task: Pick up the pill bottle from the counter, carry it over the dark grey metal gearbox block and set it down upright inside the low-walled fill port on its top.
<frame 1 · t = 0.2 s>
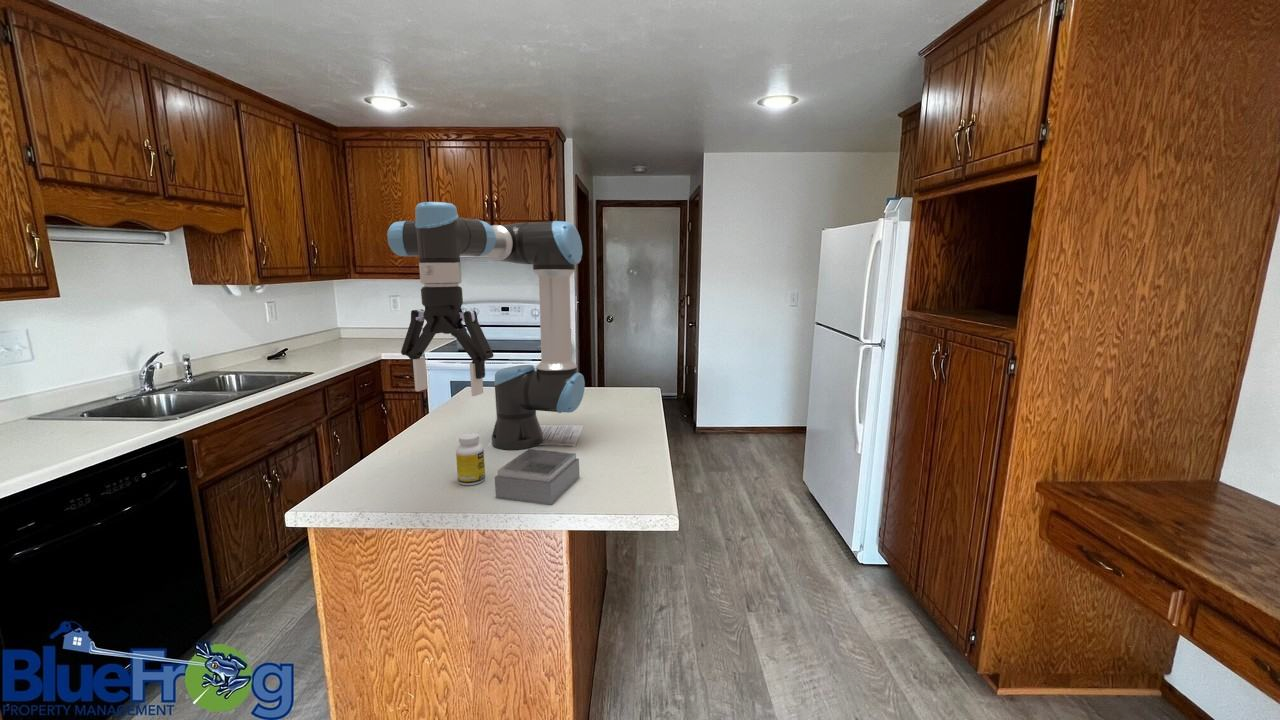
hand: (449, 392, 105), 27 cm above the worktop, fingers open, 13 cm apart
pill bottle: (471, 481, 130), on the worktop
gearbox: (539, 487, 126), on the worktop
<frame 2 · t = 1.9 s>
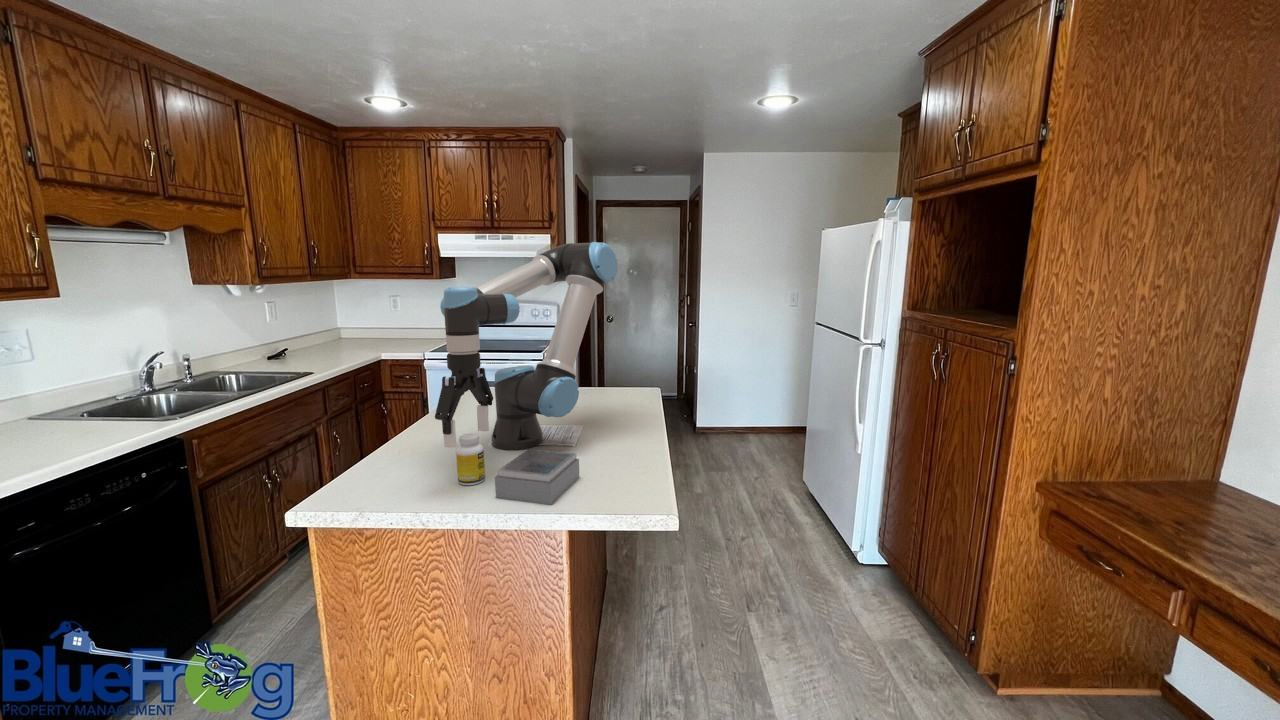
hand: (467, 438, 128), 11 cm above the worktop, fingers open, 13 cm apart
nothing on the worktop moved.
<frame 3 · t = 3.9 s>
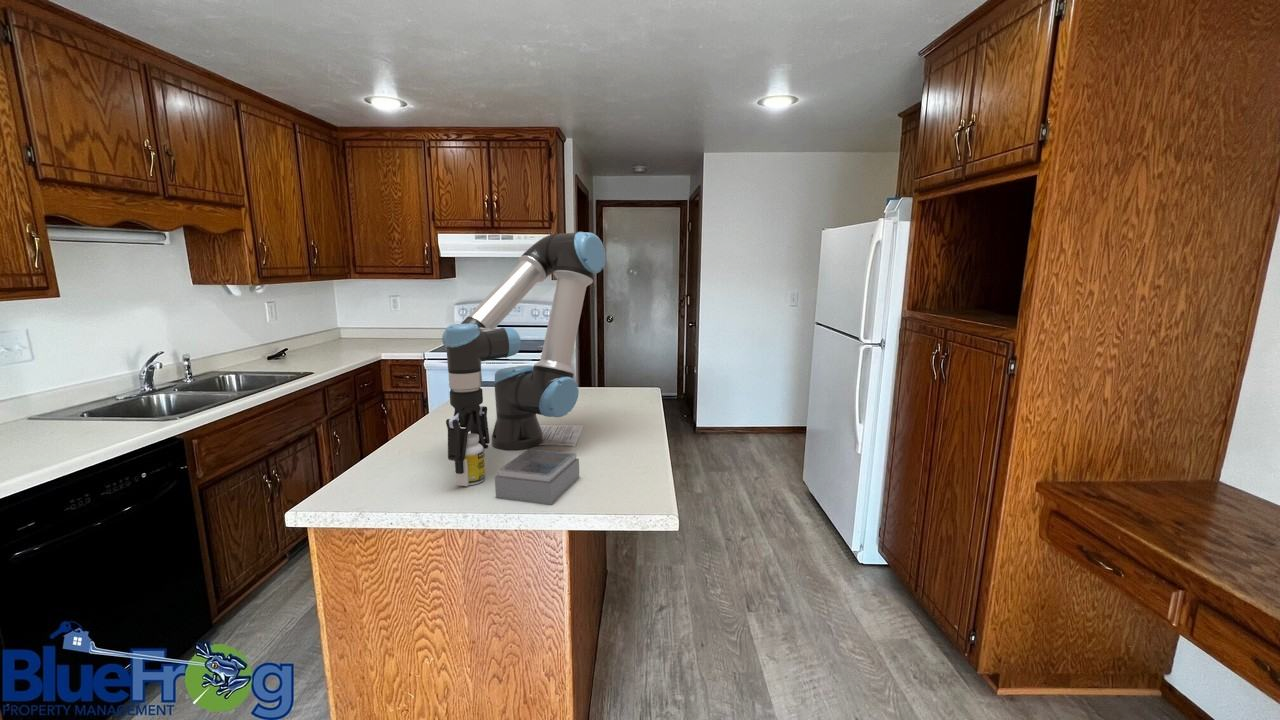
hand: (471, 479, 130), 0 cm above the worktop, fingers closed on pill bottle, 6 cm apart
pill bottle: (471, 481, 130), on the worktop, touching gripper
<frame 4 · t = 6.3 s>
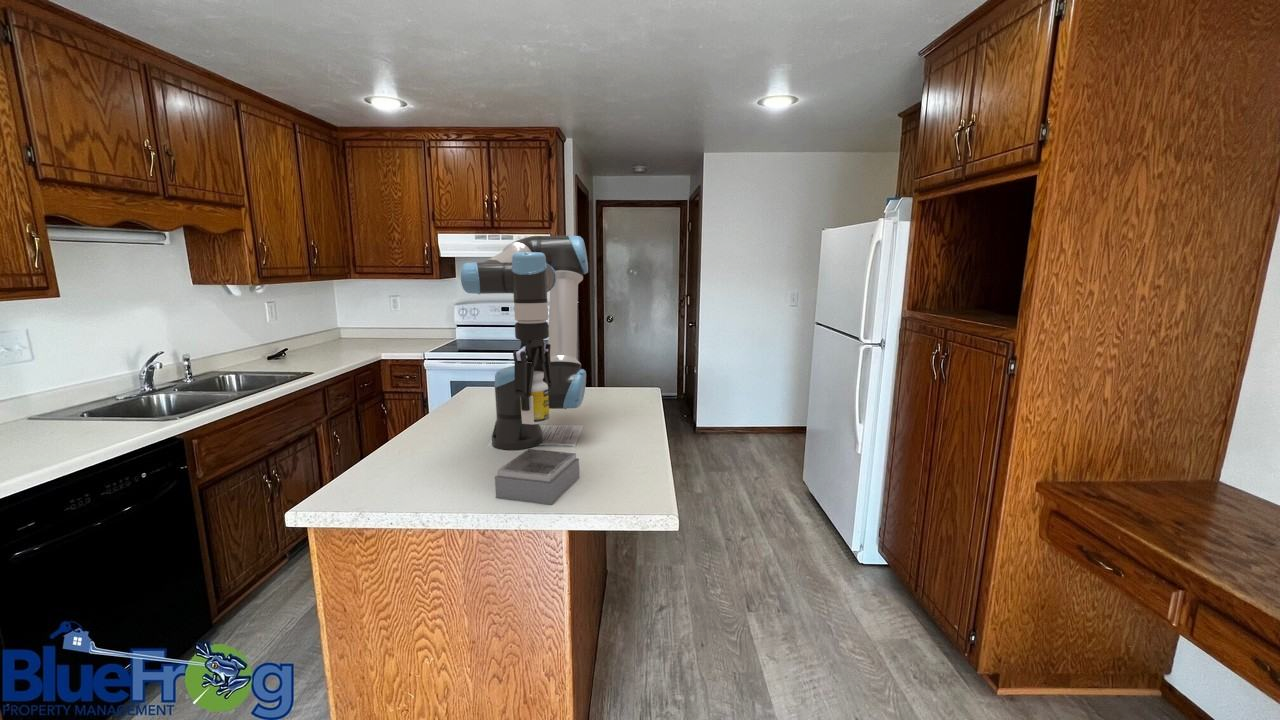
hand: (535, 419, 123), 17 cm above the worktop, fingers closed on pill bottle, 6 cm apart
pill bottle: (535, 422, 123), point 16 cm above the worktop, touching gripper
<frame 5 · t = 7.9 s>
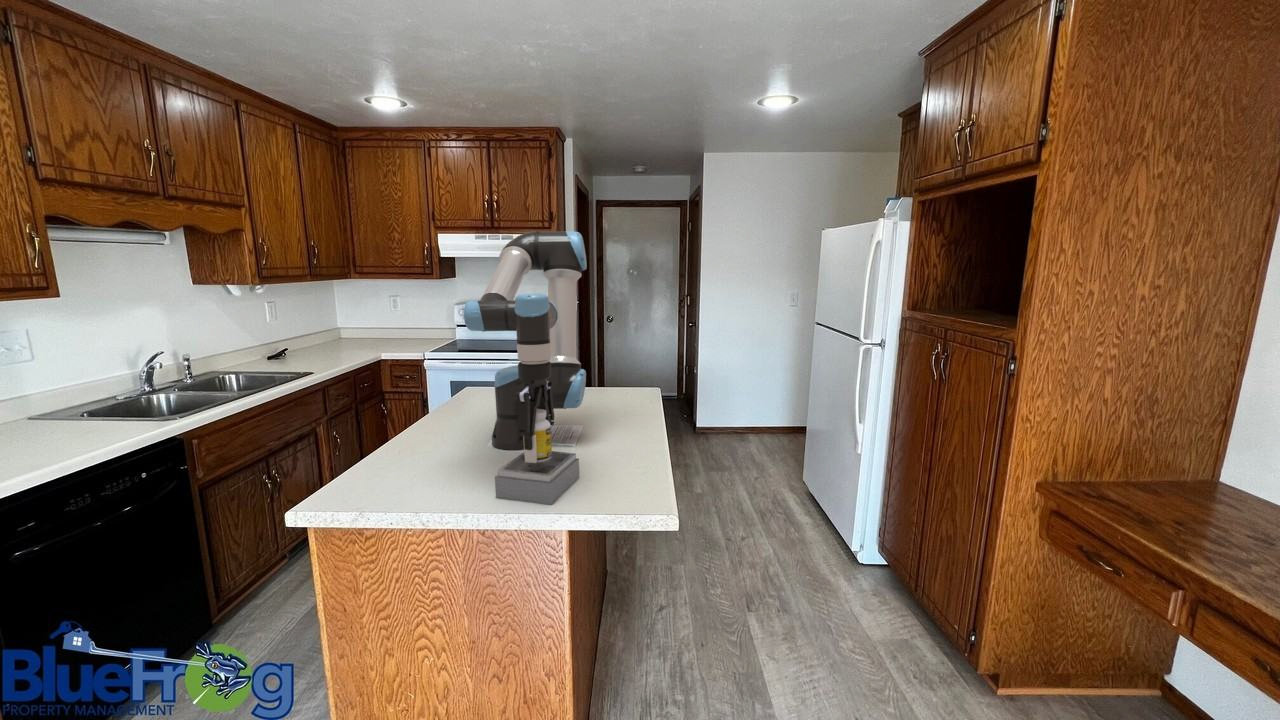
hand: (538, 456, 124), 8 cm above the worktop, fingers closed on pill bottle, 6 cm apart
pill bottle: (538, 459, 125), point 7 cm above the worktop, touching gripper
when the fingers open (7 cm above the worktop, at t = 8.9 s): pill bottle drops 1 cm, resting on gearbox.
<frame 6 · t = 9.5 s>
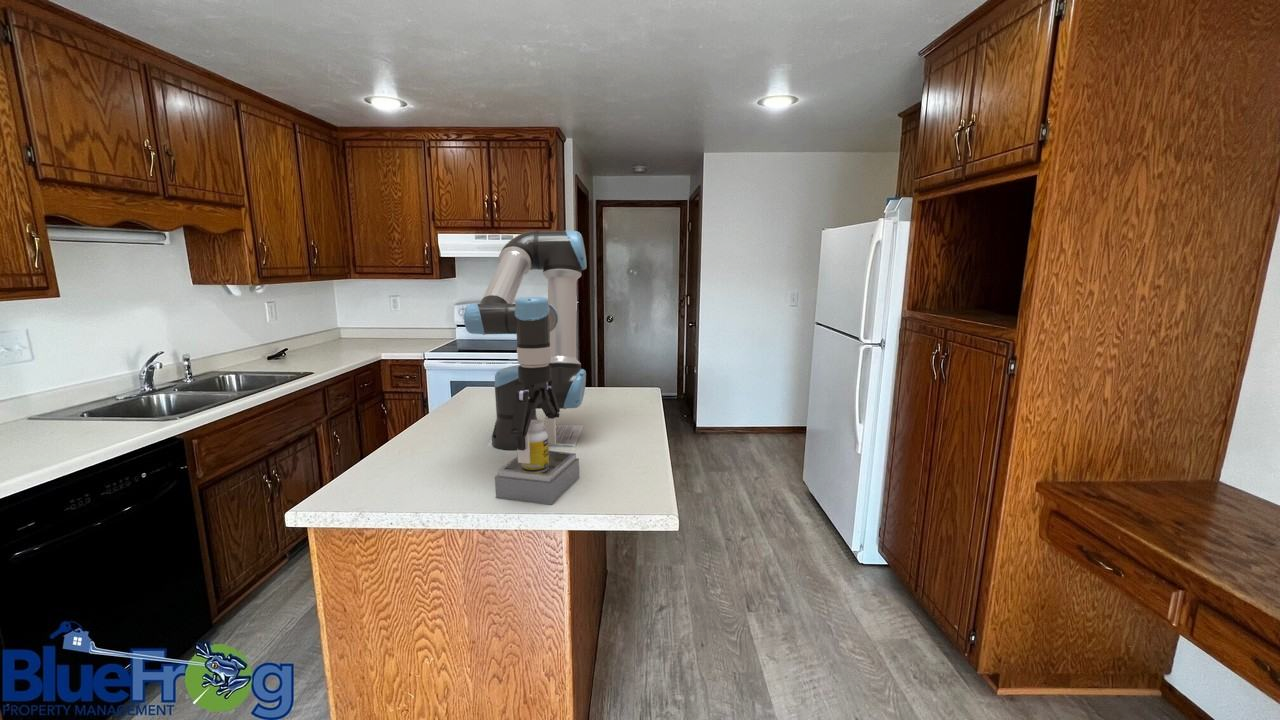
hand: (538, 452, 124), 9 cm above the worktop, fingers open, 13 cm apart
pill bottle: (535, 470, 124), point 5 cm above the worktop, touching gearbox
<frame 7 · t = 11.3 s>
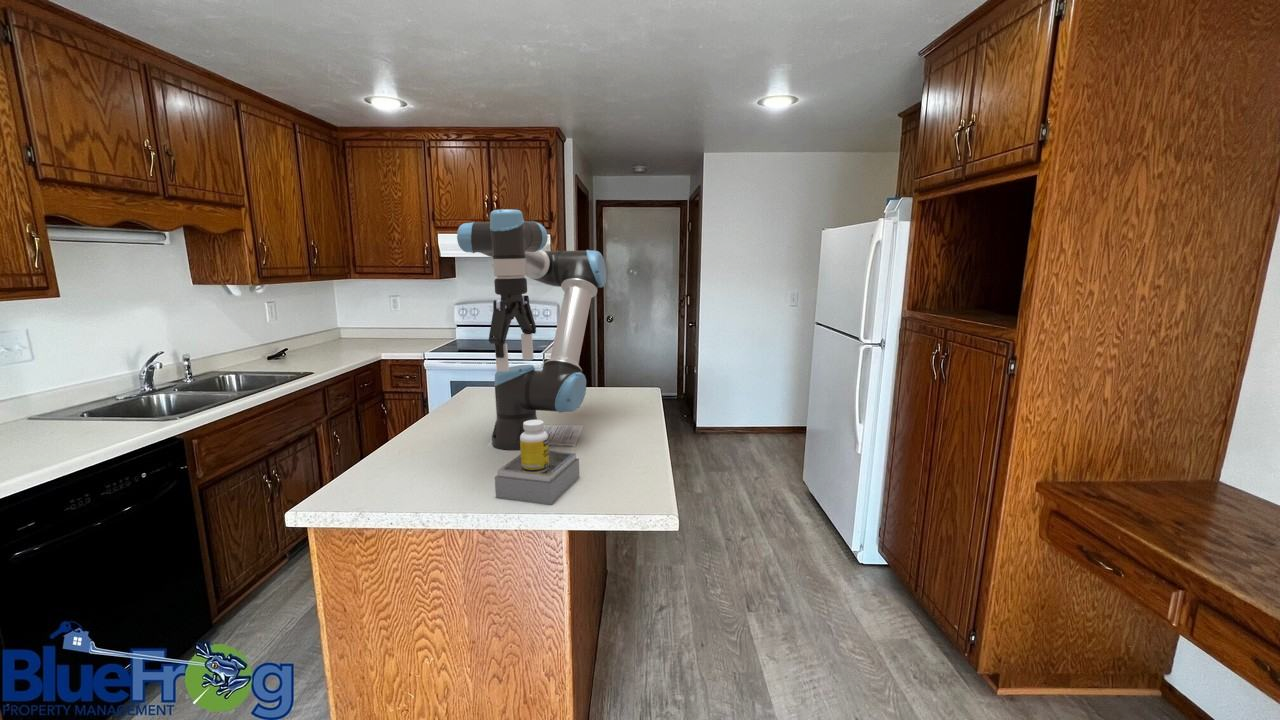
hand: (516, 364, 128), 29 cm above the worktop, fingers open, 13 cm apart
nothing on the worktop moved.
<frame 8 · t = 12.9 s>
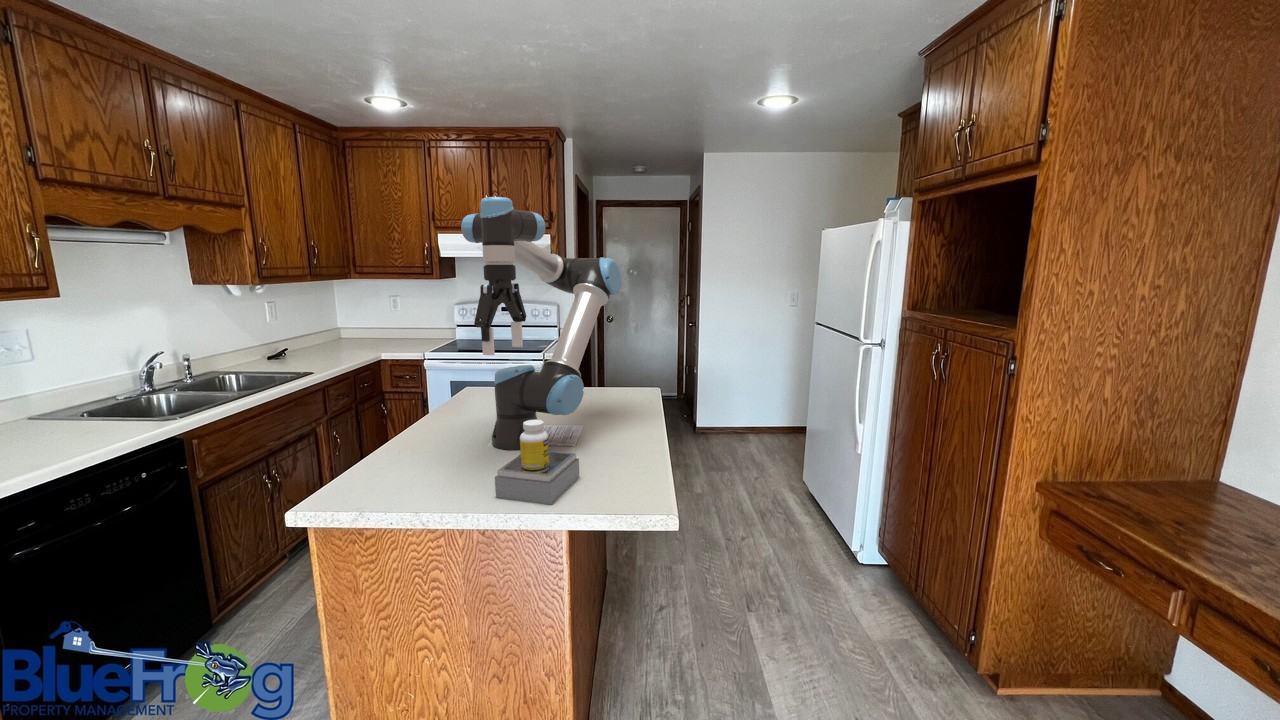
hand: (503, 350, 130), 32 cm above the worktop, fingers open, 13 cm apart
nothing on the worktop moved.
at the end: pill bottle inside the target area on the gearbox (1.6 cm from its centre), point 4.8 cm above the gearbox's base; pill bottle tilted 0°; the gripper is holding nothing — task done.
